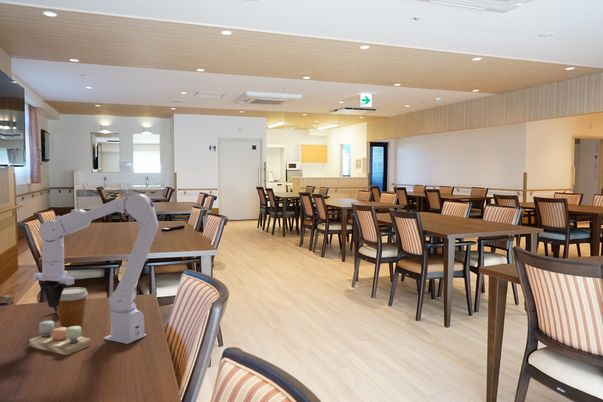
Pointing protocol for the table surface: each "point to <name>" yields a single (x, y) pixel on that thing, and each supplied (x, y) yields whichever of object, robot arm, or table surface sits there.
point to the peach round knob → (59, 333)
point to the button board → (59, 344)
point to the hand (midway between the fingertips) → (53, 306)
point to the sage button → (73, 333)
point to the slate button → (46, 328)
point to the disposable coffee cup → (72, 307)
